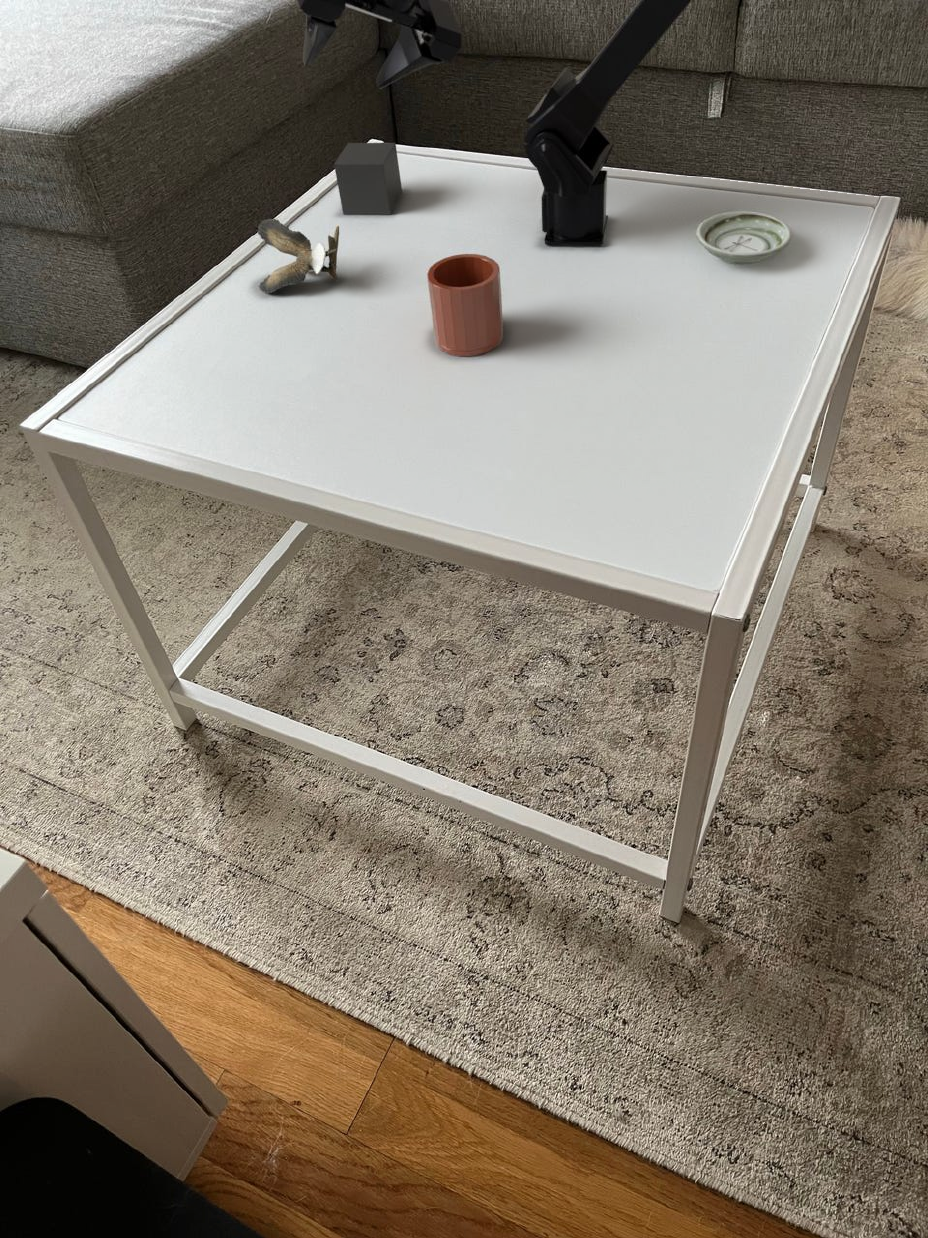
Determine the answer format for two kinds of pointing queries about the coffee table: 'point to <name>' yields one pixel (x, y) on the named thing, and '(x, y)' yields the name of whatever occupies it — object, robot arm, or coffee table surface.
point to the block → (368, 178)
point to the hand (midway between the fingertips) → (342, 74)
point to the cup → (466, 304)
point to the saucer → (743, 236)
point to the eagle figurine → (301, 249)
